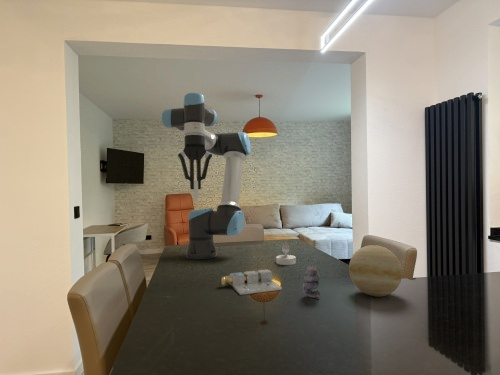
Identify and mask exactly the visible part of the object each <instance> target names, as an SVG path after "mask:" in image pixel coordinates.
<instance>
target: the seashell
mask: <svg viewBox="0 0 500 375" xmlns="http://www.w3.org/2000/svg"><path fill="white" fill-rule="evenodd" d="M319 272H320V271H318V269H317V268H316V267H315V266H314V265H313V264H310V265H309V266H305V270H304V273H305V274H304V275H303V280H304V282H303V283H302V292H303V293H304V294H305V296H307V297H309V298H318V297H321V292H320V290H319V289H317V288H318V287H319V285H320V281H319V280H320V279H321V278H320V273H319ZM315 289H316V290H315Z"/></svg>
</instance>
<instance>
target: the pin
mask: <svg viewBox="0 0 500 375" xmlns="http://www.w3.org/2000/svg"><path fill="white" fill-rule="evenodd" d="M220 280H221V285H222V286H227V285H228V284H229V283H232V278H225V277H224V276H221V279H220ZM258 280H261V276H260V274H259V275H258ZM246 281H247V276H244V282H246ZM226 284H227V285H226Z"/></svg>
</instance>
